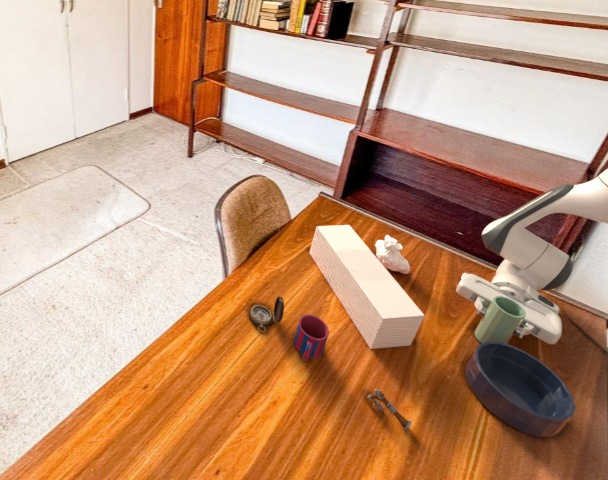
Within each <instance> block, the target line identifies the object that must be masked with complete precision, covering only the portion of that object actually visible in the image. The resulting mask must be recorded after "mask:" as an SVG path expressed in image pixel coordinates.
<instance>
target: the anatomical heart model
mask: <svg viewBox="0 0 608 480" xmlns="http://www.w3.org/2000/svg"><path fill="white" fill-rule="evenodd" d="M374 245H375V246H374V247H375V251H376V254H375V256H376V258H377V259H378V260H379V261H380V262H381V264H382V265H383V266H384V267H385V268H386V270H390V271H392V272H399V273H401V274H402V275H407V274H409V273H410V271H411V266H410V263H409V262H408V259H406V258H404V256H402V253H401V250H403V247H404V246H403V244H402V243H399V242H398V239H396V238H394V237H392V236H391V235H389V234H386V235H385V236H384V239H383V240H382V239H377V241H376V243H375V244H374Z"/></svg>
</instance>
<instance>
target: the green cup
mask: <svg viewBox="0 0 608 480" xmlns="http://www.w3.org/2000/svg"><path fill="white" fill-rule="evenodd" d="M525 316H526V312H525V310H524V309H523V308H522V307H521V306H520V305H519V304H518V303H516V302H515V301H513V300H511V299H509V298H507V297H503V296H496V297H494V298H493V300H492V302H491V303H490V305H489V307H488V309H487V310H486V313H485V315H484V317H482V316H481V319H480V321H479V322H478V324H477V326H476V327H475V330H474V332H473V333H474V336H475V338H476V340H477V341H478V342H479V343H480V344H482V343H484V342H500V343H504V344H508V345H509V342H510V341H511V339H512V338H513V336H514V332H515V331H516V329H517V328H518V327H519V325H520V324H521V322H522V321H523V319H524V318H525Z"/></svg>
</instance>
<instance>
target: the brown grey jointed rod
mask: <svg viewBox="0 0 608 480" xmlns="http://www.w3.org/2000/svg"><path fill="white" fill-rule="evenodd" d="M373 392H375V393H373V394H372V393H371V394H368V395H366V398H365V399H366V400H367V401H373V404H374V407H376V408H377V409H378V411H381V412H382V413H383V412H384V411H385V409H384V407H385V408H386V409H387V410H388V411H389V412H390V413H391V415H393V416H394V417H395V419H396V420H397V421H398V422H399V424H400V425H401V430H402V431H406V430H410V428H411V426H412V423H413V421H411V419H407V418H406V417H404V416H403V415H402V414H401V413H400V412H399V411H398V410H397V408H396V407H395V406H394V405H393V404H392V403H391V401H389V400H388V399H387V398H386V397H385V394H384V392H382V391H381V390H380V389H377V388H374V389H373ZM381 402H382V403H383V404H384V405H383V404H381Z"/></svg>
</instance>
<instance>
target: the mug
mask: <svg viewBox="0 0 608 480" xmlns="http://www.w3.org/2000/svg"><path fill="white" fill-rule="evenodd" d="M329 335H330V330H329V327H328V324H327V323H326V322H325V321H324V320H323V319H321V318H320V317H318V316H316V315H313V314H304V315H302V316H301V317H299V320H298V323H297V326H296V330H295V333H294V337H293V346H294V348H295V349H296V351H298V352H299V354H300V355H301V356H302V360H303V361H305V362H308V361H309V359H312V360H316V359H318V358H321V356H322V355H323V352H324V350H325V346H326V343H327V340H328V337H329Z"/></svg>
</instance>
